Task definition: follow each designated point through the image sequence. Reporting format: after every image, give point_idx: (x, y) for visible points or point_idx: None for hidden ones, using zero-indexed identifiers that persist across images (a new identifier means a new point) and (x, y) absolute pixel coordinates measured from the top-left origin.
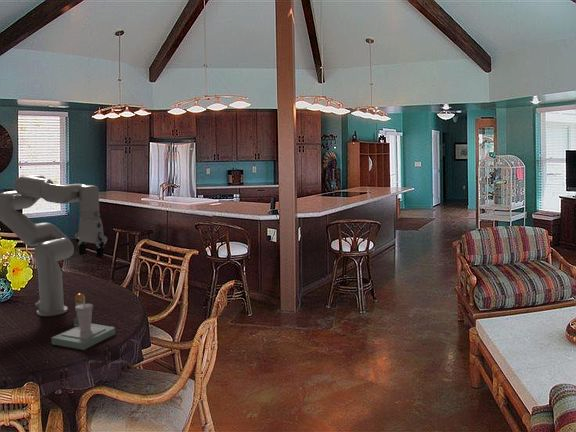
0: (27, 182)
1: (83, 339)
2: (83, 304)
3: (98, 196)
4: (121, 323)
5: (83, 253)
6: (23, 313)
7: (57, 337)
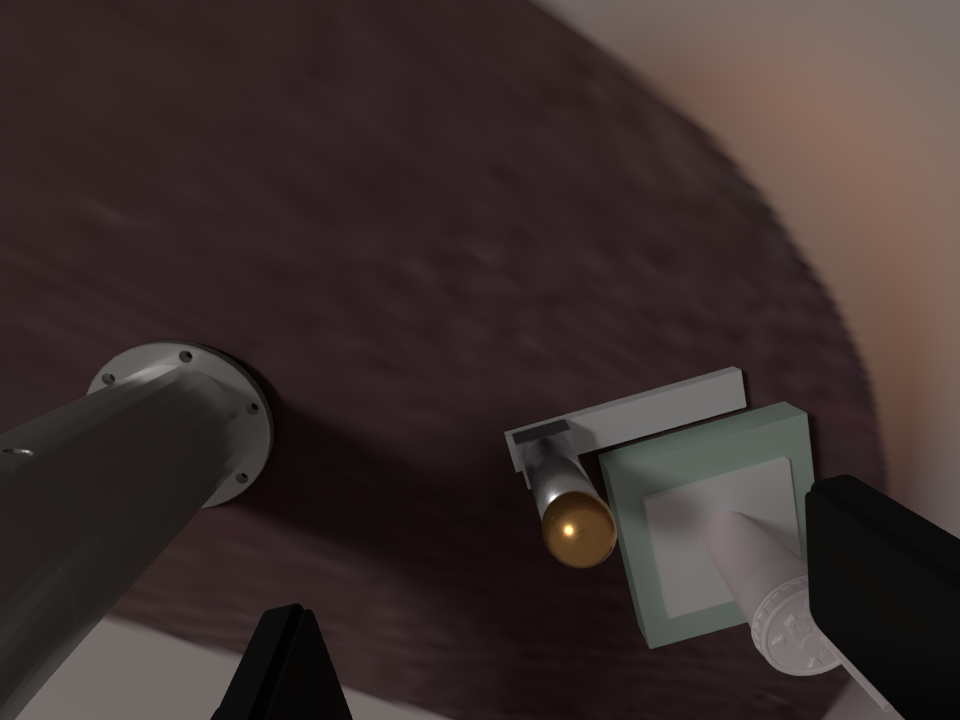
0: None
1: None
2: (833, 652)
3: None
4: (688, 285)
5: (329, 683)
6: None
7: (671, 633)
